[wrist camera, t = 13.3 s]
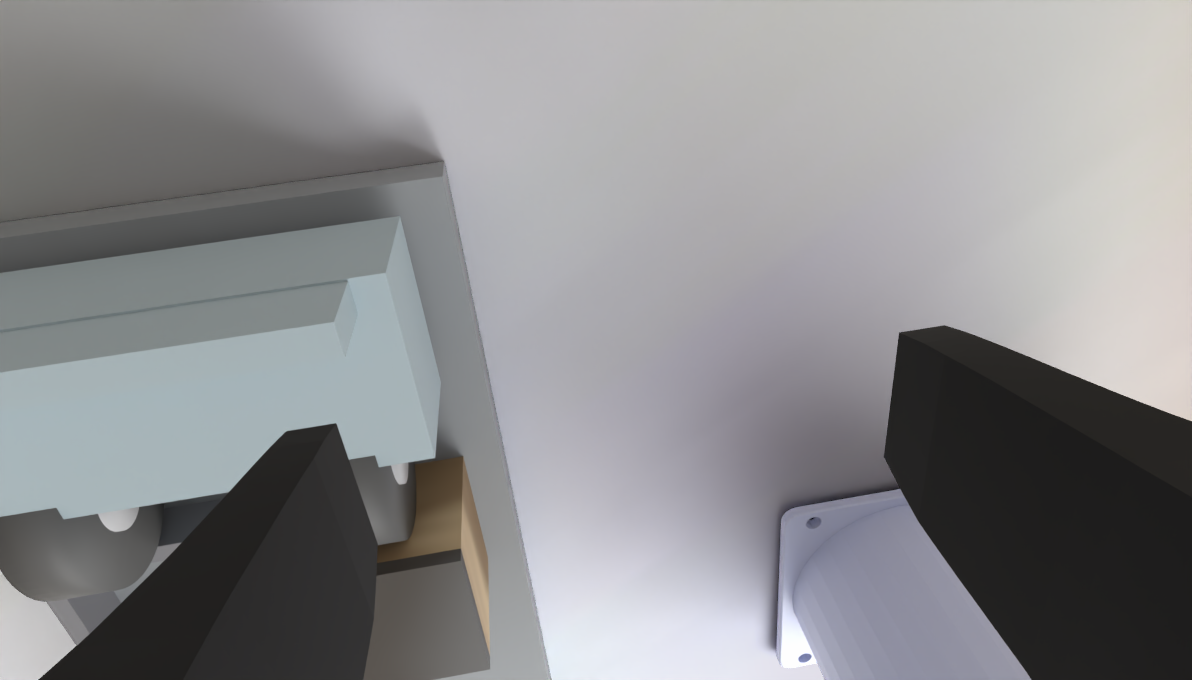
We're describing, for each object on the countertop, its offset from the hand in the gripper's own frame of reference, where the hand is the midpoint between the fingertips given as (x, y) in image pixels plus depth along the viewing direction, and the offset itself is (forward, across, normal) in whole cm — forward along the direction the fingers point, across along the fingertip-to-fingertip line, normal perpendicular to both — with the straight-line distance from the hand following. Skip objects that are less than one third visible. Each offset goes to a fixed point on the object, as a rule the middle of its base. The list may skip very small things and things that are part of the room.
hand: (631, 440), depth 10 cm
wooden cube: (+9, +6, +9) cm, 14 cm away
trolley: (+9, +9, +3) cm, 13 cm away
